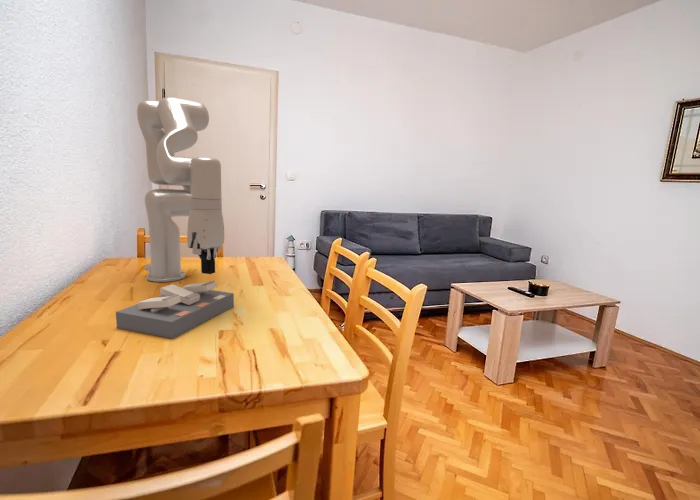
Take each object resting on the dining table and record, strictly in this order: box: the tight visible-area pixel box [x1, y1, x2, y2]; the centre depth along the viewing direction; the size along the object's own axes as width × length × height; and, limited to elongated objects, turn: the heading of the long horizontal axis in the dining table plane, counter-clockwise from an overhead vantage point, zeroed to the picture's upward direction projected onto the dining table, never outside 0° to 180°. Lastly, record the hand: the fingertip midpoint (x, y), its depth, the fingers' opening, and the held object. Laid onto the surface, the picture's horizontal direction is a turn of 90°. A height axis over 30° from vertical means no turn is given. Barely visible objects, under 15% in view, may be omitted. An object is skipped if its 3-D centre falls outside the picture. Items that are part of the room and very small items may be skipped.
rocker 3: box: [181, 280, 218, 292], centre depth 102 cm, size 9×4×2 cm, turn 74°
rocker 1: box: [137, 294, 181, 309], centre depth 89 cm, size 9×4×2 cm, turn 74°
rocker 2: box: [159, 283, 200, 305], centre depth 96 cm, size 9×4×2 cm, turn 74°
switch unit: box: [115, 289, 235, 340], centre depth 96 cm, size 16×24×5 cm, turn 164°
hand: (208, 272), depth 100 cm, fingers closed
